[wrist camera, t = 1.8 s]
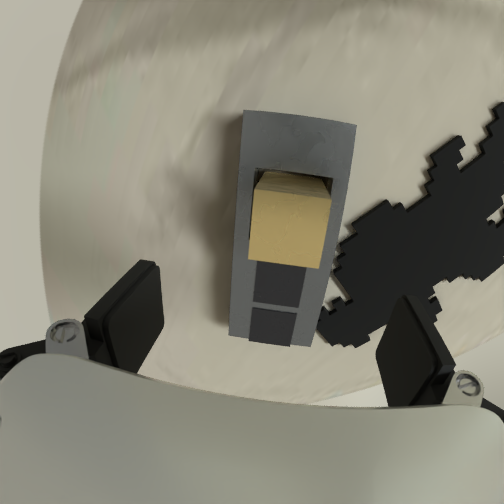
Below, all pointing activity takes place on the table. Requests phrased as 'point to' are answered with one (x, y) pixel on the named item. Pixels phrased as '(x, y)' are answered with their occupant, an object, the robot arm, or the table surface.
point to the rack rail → (243, 269)
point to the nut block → (289, 219)
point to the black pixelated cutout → (422, 241)
